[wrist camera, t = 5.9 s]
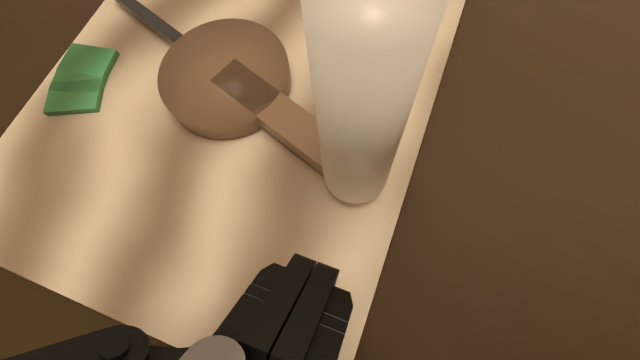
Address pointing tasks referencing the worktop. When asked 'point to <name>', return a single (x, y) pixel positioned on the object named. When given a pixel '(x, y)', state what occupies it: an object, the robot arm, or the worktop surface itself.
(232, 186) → the striped cutting board
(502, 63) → the worktop surface
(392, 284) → the worktop surface
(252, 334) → the robot arm
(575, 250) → the worktop surface
